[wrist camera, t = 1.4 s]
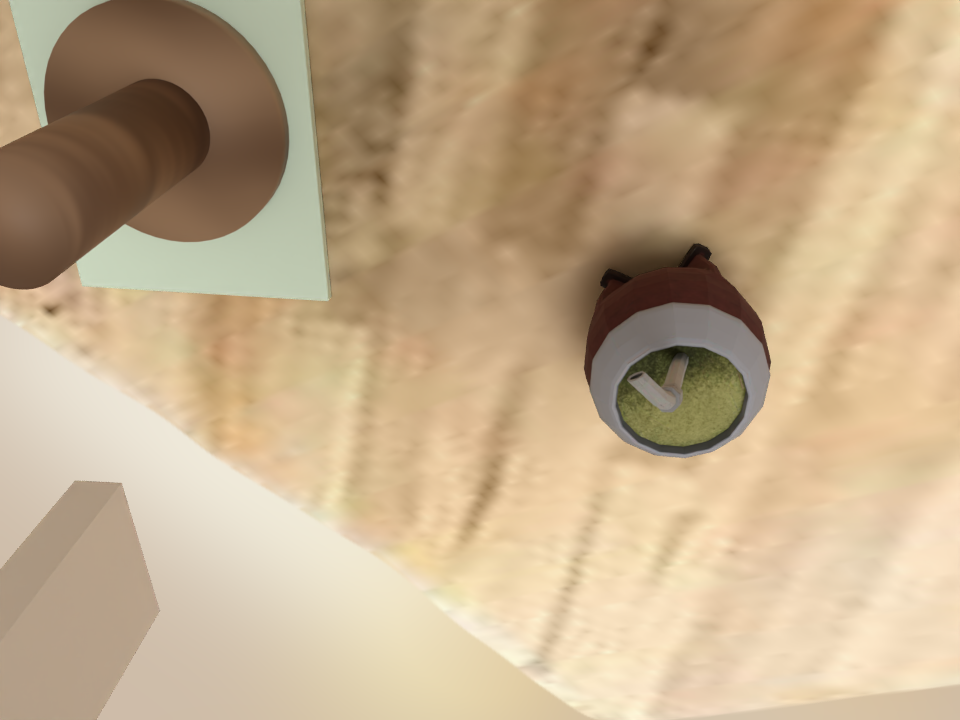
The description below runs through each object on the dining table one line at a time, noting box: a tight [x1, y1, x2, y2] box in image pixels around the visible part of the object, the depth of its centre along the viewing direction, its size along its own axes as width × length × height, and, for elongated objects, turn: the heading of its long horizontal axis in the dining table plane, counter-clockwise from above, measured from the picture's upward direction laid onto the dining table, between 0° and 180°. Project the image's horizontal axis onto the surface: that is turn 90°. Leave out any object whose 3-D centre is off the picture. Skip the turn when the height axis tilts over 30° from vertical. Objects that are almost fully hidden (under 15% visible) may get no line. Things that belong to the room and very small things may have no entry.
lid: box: [0, 0, 289, 289], centre depth 31 cm, size 10×10×12 cm
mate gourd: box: [584, 244, 771, 458], centre depth 31 cm, size 8×8×15 cm
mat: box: [9, 0, 331, 301], centre depth 36 cm, size 16×12×1 cm
